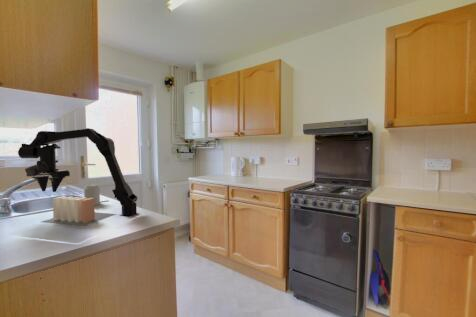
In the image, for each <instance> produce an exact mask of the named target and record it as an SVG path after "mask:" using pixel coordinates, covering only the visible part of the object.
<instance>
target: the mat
mask: <svg viewBox="0 0 476 317" xmlns="http://www.w3.org/2000/svg"><path fill="white" fill-rule="evenodd" d="M115 215H116V213H109V212H108V213H107V212H96V211H95V220H92V221H89V222H87V223H82V221H80V222H75V220H74V221H71V222H69V221H68V220H65V221H61V219H59V220H54V217H52V218H48V219H45V220H42V221H41V223H45V224H48V223H49V224H55V225H56V224H58V225H64V226H65V225H67V226H78V227H86V226H90V225H91V224H94V223H97V222H100V221H102V220H104V219H106V218H110V217H112V216H115Z"/></svg>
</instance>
